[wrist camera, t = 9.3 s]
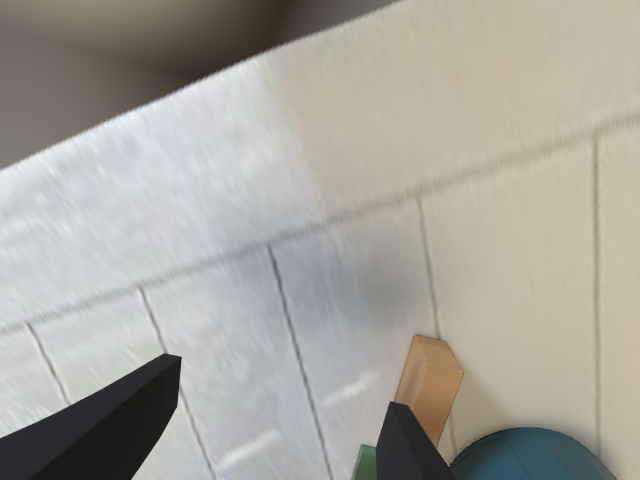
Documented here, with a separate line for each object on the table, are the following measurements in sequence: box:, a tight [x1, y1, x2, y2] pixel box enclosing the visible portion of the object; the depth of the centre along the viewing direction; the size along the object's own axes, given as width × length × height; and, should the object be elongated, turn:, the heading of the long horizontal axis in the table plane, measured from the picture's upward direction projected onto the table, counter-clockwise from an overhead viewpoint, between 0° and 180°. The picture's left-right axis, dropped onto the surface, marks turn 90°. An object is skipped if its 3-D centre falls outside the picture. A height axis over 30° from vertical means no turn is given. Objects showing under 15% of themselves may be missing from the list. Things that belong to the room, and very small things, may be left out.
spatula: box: [352, 335, 464, 480], centre depth 21 cm, size 16×5×3 cm, turn 169°
